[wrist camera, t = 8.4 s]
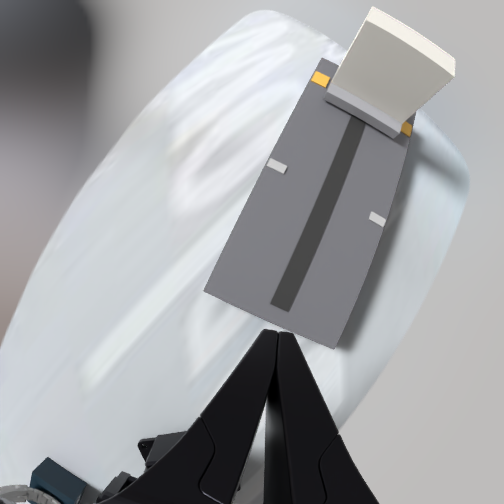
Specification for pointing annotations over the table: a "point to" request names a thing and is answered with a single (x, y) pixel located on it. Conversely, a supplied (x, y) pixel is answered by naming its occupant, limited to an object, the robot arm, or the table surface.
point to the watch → (47, 486)
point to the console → (312, 218)
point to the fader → (388, 73)
